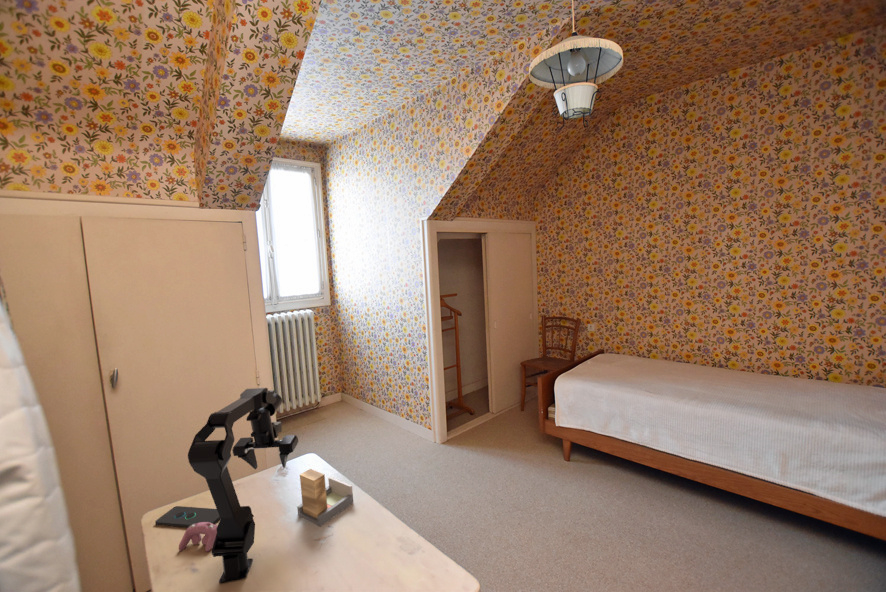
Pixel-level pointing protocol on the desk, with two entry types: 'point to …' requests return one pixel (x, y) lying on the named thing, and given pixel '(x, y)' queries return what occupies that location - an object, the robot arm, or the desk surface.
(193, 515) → the smart home device
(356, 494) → the desk surface
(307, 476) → the oak slider
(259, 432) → the robot arm
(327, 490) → the rail box
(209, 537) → the video game controller
